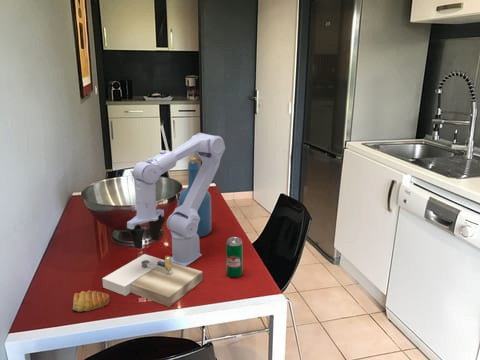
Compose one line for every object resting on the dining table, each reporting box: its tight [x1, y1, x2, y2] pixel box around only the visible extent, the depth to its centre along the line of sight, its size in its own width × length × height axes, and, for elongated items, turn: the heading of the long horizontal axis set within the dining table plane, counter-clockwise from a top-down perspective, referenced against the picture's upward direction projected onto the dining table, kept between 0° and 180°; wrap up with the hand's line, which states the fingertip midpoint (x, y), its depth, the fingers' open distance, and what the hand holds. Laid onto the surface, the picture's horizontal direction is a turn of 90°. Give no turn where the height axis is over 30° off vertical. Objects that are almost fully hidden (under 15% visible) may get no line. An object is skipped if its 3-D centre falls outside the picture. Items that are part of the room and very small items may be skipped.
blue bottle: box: [177, 157, 213, 238], centre depth 153 cm, size 14×13×30 cm
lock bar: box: [142, 255, 172, 274], centre depth 121 cm, size 11×2×5 cm, turn 61°
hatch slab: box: [130, 262, 204, 308], centre depth 118 cm, size 16×14×3 cm
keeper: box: [157, 261, 165, 267], centre depth 122 cm, size 1×3×2 cm, turn 61°
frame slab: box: [101, 253, 165, 297], centre depth 122 cm, size 18×9×3 cm, turn 151°
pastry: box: [72, 290, 110, 313], centre depth 109 cm, size 9×7×4 cm
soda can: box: [225, 236, 244, 279], centre depth 123 cm, size 5×5×12 cm
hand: (146, 243), depth 122 cm, fingers open, 7 cm apart
